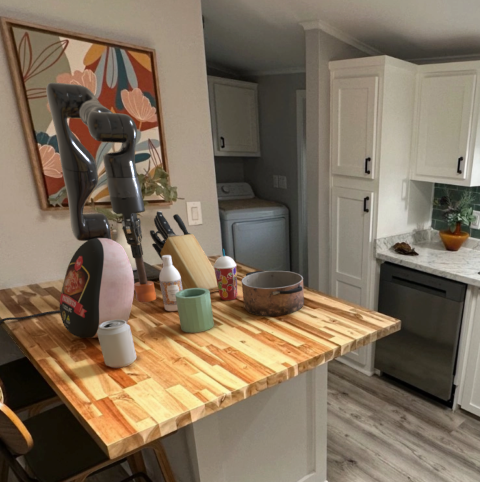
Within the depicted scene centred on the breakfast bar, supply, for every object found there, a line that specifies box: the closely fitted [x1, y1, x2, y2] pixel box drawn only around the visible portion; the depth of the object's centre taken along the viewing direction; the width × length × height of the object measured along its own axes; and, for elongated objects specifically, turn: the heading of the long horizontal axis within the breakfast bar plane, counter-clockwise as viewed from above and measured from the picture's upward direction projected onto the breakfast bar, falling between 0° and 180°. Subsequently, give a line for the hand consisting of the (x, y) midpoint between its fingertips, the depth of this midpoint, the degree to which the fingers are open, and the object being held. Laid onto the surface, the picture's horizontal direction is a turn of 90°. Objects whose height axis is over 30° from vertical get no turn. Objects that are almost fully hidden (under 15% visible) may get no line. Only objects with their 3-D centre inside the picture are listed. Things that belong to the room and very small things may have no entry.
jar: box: [175, 288, 215, 333], centre depth 135 cm, size 10×10×12 cm
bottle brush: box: [131, 239, 157, 303], centre depth 118 cm, size 5×5×18 cm
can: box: [97, 319, 137, 369], centre depth 111 cm, size 8×8×12 cm
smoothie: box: [213, 248, 239, 301], centre depth 160 cm, size 8×8×20 cm
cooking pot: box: [241, 270, 305, 317], centre depth 156 cm, size 30×22×11 cm
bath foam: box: [158, 255, 183, 312], centre depth 148 cm, size 7×7×20 cm
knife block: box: [149, 210, 219, 293], centre depth 170 cm, size 11×35×31 cm, turn 54°
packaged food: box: [59, 238, 135, 339], centre depth 126 cm, size 22×20×30 cm
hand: (138, 256), depth 117 cm, fingers closed on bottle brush
